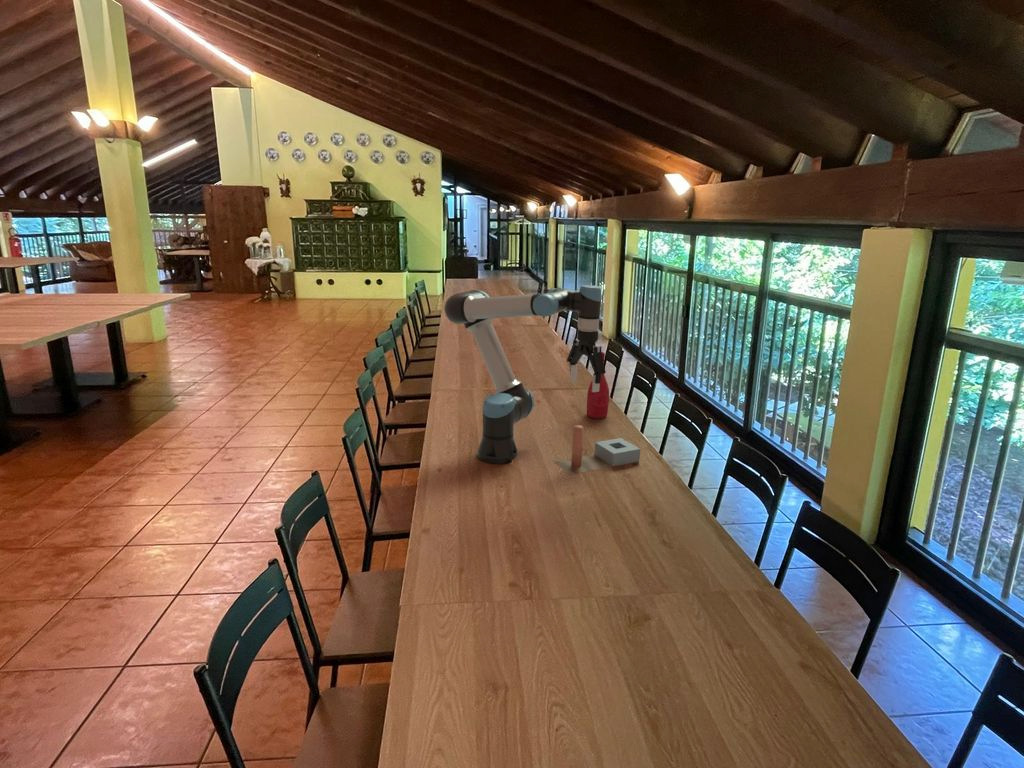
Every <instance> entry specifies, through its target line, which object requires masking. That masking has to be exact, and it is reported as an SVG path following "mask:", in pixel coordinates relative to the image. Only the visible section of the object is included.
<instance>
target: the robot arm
mask: <svg viewBox="0 0 1024 768" xmlns="http://www.w3.org/2000/svg"><path fill="white" fill-rule="evenodd" d="M601 303H602V288H601V287H600V286H598V285H593V284H589V285H588V284H585V285H584V284H583V285H581V286H580V288H579V290H578V289H577V290H575V289H567V288H561V287H558V288H556V287H555V288H554V287H552V288H549V290H548V291H547V292H544V293H543V292H542V293H534V294H533V293H531V294H530V293H529V294H519V295H503V296H502V295H501V296H491V297H490V295H489V294H488V293H487V292H485V291H483V290H480V289H477V290H476V289H471V290H467V291H463V292H458V293H454V294H452V295H450V296H449V297H448V298H447V300H446V301H445V303H444V314H445V316H446V318H447V319H448V321H450V322H451V323H454V324H455V325H464V327H465V329H466V331H467V332H470V333H471V334H472V335H473V338H474V341H475V342H476V345H477V348H478V350H479V352H480V355H481V357H482V359H483V361H484V364H485V366H486V369H487V371H488V373H489V375H490V377H491V380H492V382H493V384H494V386H495V391H494V393H492V394H490V395H488V396H486V397H485V398H484V399H483V403H482V404H483V405H482V437H481V440H480V442H479V445H478V449H477V458H478V459H479V460H480V461H482V462H485V463H488V464H498V465H501V464H508V463H511V462H513V460H514V459H516V458H517V457H518V448H517V445H516V441H515V438H514V433H515V432H514V430H515V429H514V426H515V424H517V423H518V422H520V421H522V420H523V419H525V418H527V417H528V416H529V415H530V414H531V413H532V411H533V410H534V408H535V398H534V397H535V396H534V395H533V393H532V391H530V390H529V389H527V388H526V387H524V385H523V382H522V381H521V380H517V378H516V376H515V374H514V372H513V371H514V370H513V369H512V366H511V364H510V361H509V360H508V358H507V355H506V353H505V351H504V348H503V346H502V344H501V341H500V339H499V337H498V334H497V332H496V330H495V328H494V324H493V321H494V319H499V318H500V319H501V318H503V319H504V318H515V317H516V318H519V317H520V318H521V317H533V316H534V317H536V316H539V317H543V318H545V317H551V316H553V315H555V314H559V313H561V312H563V311H566V312H567V311H568V312H576V313H577V312H578V313H577V314H578V316H577V331H576V339H572V340H573V341H572V346H571V348H570V351H569V353H568V355H567V358H566V362H567V363H569V365H570V366H569V367H570V369H569V372H570V374H569V375H570V376H569V382H570V383H576V382H578V374H579V373H578V370H579V365H578V364H579V361H580V360H581V358H582V357H583V355H584V356H585V357H587V359H589V362H590V365H591V367H592V370H593V374H592V379H593V382H592V392H599V386H600V382H601V374H604V375H605V374H606V367H605V362H603V357H602V353H601V352H602V346H601V345H596V343H597V342H598V340H599V329H600V315H601V306H602V304H601ZM597 370H598V371H597Z"/></svg>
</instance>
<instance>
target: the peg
mask: <svg viewBox="0 0 1024 768" xmlns="http://www.w3.org/2000/svg"><path fill="white" fill-rule="evenodd" d="M572 428H573V430H572V431H573V433H572V447H571V459H572V461H571V466H573V467H581V460H582V457H583V444H584V443H583V441H584V430H585V429H584V426H583V425H580V424H577V425H573V427H572Z"/></svg>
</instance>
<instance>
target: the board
mask: <svg viewBox="0 0 1024 768" xmlns="http://www.w3.org/2000/svg"><path fill="white" fill-rule="evenodd" d="M571 461H572V458H567V459H562V460H556V461H554V464H556V465H557V466H558V467H560V468H561V469H562V470H564V471H565V472H567V473H568V474H569V475H576V474H582V473H585V472H591V471H596V470H602V469H607V468H612V467H614V466H611V465H610V464H608V463H607V462H605V461H604V460H602V459H601V458H599V457H598V456H596V455H594V454H590V455H582V460H581V467H573V466H571ZM630 464H631V465H632V466H635V465H639V464H640V460H639V461H638V462H633V463H630ZM618 466H619V465H617V466H616V467H618Z"/></svg>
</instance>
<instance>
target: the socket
mask: <svg viewBox="0 0 1024 768" xmlns="http://www.w3.org/2000/svg"><path fill="white" fill-rule="evenodd" d="M593 455H596V456H598V457H599V458H601V459H602V460H604V461H605V462H607V463H608V464H610V465H611V466H613V467H618V466H622V465H627V464H631V463H633V462H638V461H639V462H640V456H641V448H639V447H638V446H636V445H634V444H633V443H630V442H629V441H627V440H626V439H624V438H622V437H620V438H613V439H606V440H603V441H596V442H595V443H594V454H593ZM617 465H618V466H617Z"/></svg>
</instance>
